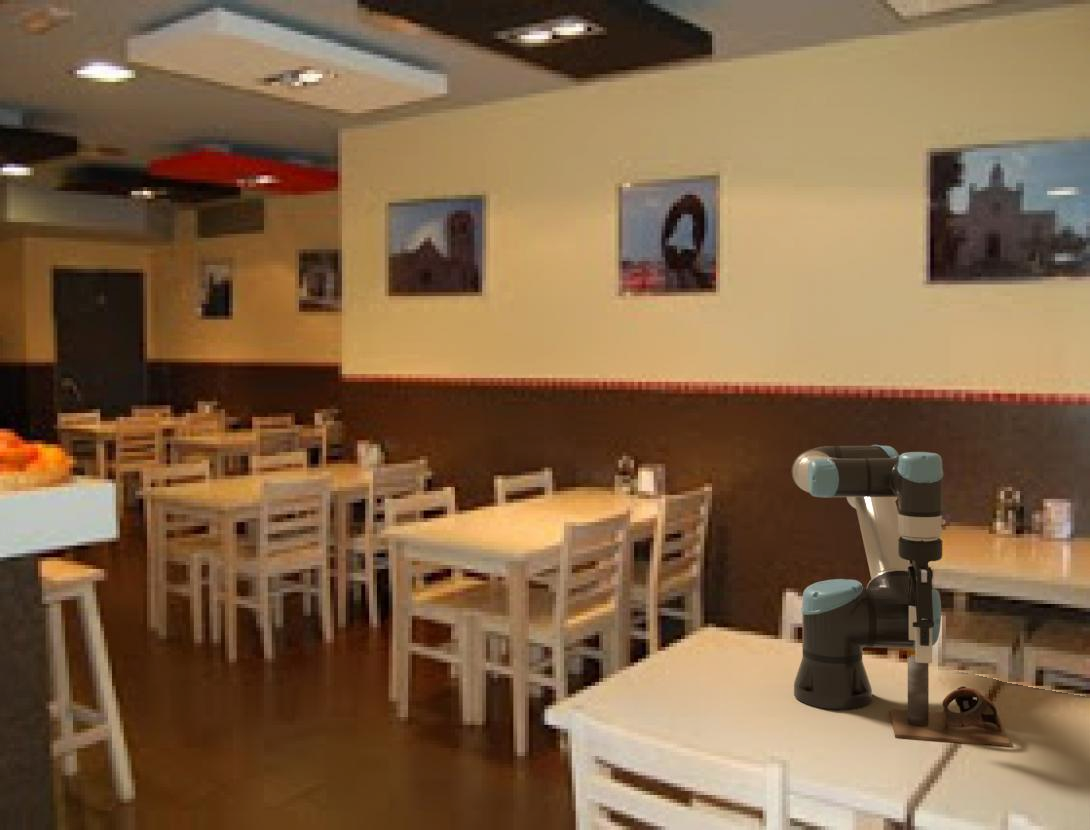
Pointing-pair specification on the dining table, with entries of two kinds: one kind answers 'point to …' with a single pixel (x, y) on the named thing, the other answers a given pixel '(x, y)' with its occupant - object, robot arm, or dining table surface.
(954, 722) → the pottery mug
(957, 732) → the brown board with post
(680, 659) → the dining table surface
